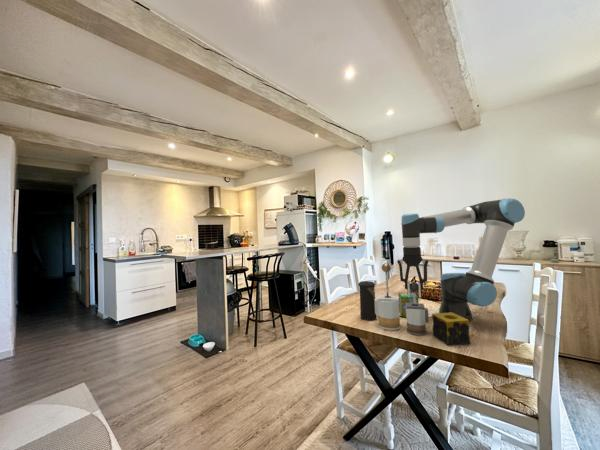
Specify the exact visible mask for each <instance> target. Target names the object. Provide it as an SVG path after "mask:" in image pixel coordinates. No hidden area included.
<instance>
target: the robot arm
mask: <svg viewBox="0 0 600 450" xmlns="http://www.w3.org/2000/svg"><path fill="white" fill-rule="evenodd" d="M525 214H526V212H525V207H524V206H523V204H522V202H520V201H519V200H518V199H516V198H502V199H497V200H489V201H488V200H487V201H483V202H478V203H476V204H473V205H469V206H465V207H463V208H461V209H457V210H454V211H453V210H452V211H447V212H442V213H437V214H431V215H426V216H421V217H420V216H419V213H405V214H402V215H401V232H402V233H401V234H402V246H403V248H402V252H403V253H402V254H403V255H402V258H401V259H397V262H396V263H397V264H398V267H399V278H400V282H403V283H404V290H407V292H408V297H410V293H411V291H410V288H409V285H410V281H409V275H410V268H412V267H414V268H415V270H416V272H417V273H416V274H417V277H418V280H419V281H418V282H417V285H418V287H419V288H418V290H417V292H418V298H422V293H421V292H422V291H423V290H424V283H427V282H428V264H429V260H428V259H425V258H423V257H422V253H421V250H422V249H421V247H420V246H421V234H438V233H442V232H443V231H444V230H445V228H447V227H452V226H458V225H462V224H463V225H464V224H466V225H472V224H484V225H485V229H484V232H483V234H482V237H481V240H480V243H479V246H478V249H477V251H476V253H475V254H476V255H475V258H474V261H473V263H472V265H471V268H470V270H468V271H465V272H447V273H442V274H441V275H440V288H441V289H440V290H441V302H440V307H439V310H438V313H450V312H453V313H455V314H457V315H459V316H461V317H463V318H465V319H468V320H469V322H470V321H472V320H473V318H474V317H473V313H472V310H471V308H470V305H469V304H471V305H474V306H478V307H488V306H490V305H491V304H493V303H494V302H495V300H496V299H497V298H498V291H497V288H496V287H495V285H494V284H495V280H494V279H493V275H494V272H495V269H496V266H497V263H498V260H499V259H500V255H501V251H502V249H503V247H504V243H505V240H506V238H507V235H508V232H509V231H511V230H513V229H514V226H515V224H516V223H517V224H518V223H519V222H522V220H523V219H524V218H525ZM403 262H404V263H405V264H406V269H405V274H403V264H404V263H403ZM421 263H422V264H423V277H422V273H421V271H420V266H419V265H420V264H421ZM404 275H405V276H404Z"/></svg>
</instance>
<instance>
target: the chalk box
mask: <svg viewBox="0 0 600 450" xmlns="http://www.w3.org/2000/svg"><path fill="white" fill-rule="evenodd" d="M397 296H398V299H399V316H401V318H406V303H414V299H413V292H412V290H410V297H408V291H407V292H403V291H402V292H400V291H399V292H398V294H397ZM415 297H416V303H419V302H420V301H419V295H417V293H415Z"/></svg>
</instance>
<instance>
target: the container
mask: <svg viewBox="0 0 600 450" xmlns="http://www.w3.org/2000/svg"><path fill="white" fill-rule="evenodd" d="M357 285H358V287H359V308H360V311H359V312H360V315H359V316H360V319H361V320H363V321H375V320H377V319H378V317H377V316H378V315H377V314H375V301H374V300H375V299H376V292H375V285H376V284H375V282H373V281H370V280H365V281H364V280H363V281H360V282H358V284H357Z"/></svg>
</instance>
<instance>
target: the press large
mask: <svg viewBox="0 0 600 450" xmlns="http://www.w3.org/2000/svg"><path fill="white" fill-rule="evenodd" d="M374 301H375V314H376V315H377V316H378V317H377V319H378V325H377V326H378V327H379V328H380V329H382V330H386V331H398V330H400V329H401V328H402V327H401V319H400V318H401V317H400V316H401V315H400V313H399V297H398V295H393V294H392V295H390V294H389V298H387V294H378V296H377V298H375V300H374Z"/></svg>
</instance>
